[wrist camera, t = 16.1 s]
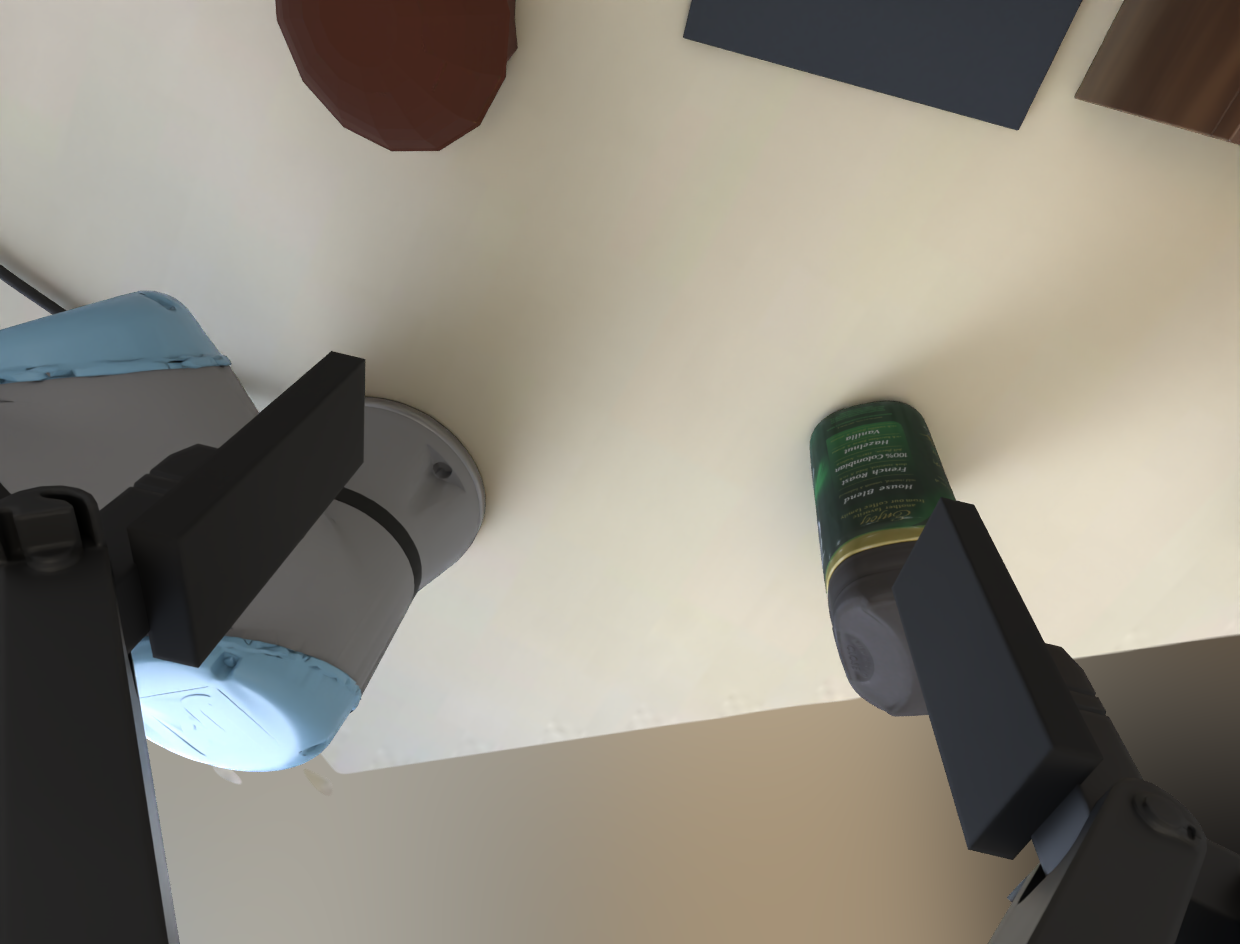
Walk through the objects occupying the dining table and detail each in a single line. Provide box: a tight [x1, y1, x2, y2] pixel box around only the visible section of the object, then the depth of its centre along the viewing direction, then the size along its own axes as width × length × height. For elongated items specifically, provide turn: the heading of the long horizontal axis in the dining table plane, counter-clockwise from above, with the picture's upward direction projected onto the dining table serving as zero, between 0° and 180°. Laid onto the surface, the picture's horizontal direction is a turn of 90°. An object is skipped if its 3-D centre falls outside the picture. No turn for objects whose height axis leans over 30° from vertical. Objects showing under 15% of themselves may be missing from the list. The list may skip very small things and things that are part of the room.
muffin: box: [275, 0, 518, 151], centre depth 35 cm, size 12×11×10 cm
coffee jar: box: [810, 401, 956, 716], centre depth 42 cm, size 10×8×19 cm
